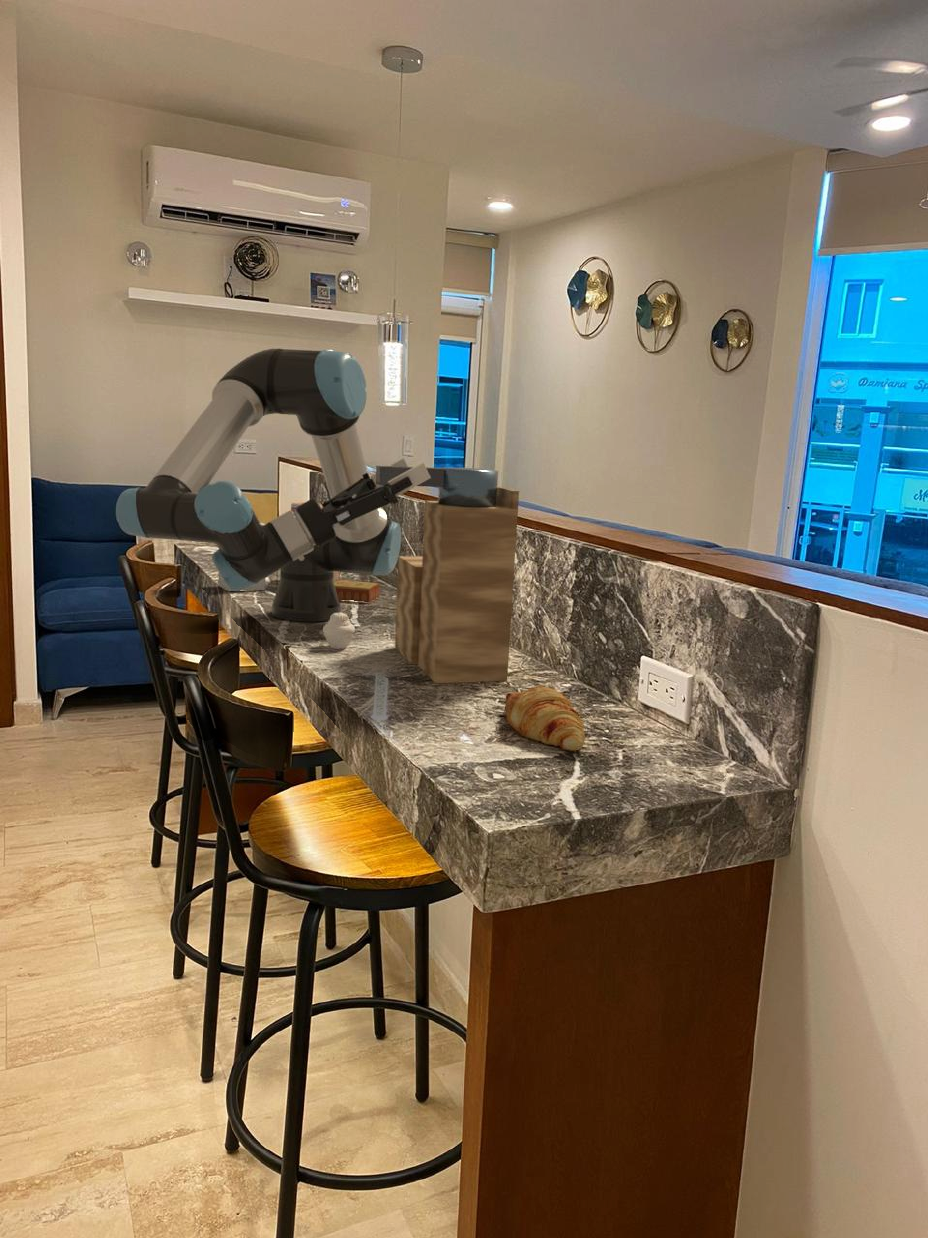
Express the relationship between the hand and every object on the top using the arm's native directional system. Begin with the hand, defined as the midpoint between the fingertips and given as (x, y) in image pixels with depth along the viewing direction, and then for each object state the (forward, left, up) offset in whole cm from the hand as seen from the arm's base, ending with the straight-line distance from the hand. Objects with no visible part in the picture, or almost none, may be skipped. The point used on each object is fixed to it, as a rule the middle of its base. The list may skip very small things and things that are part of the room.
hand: (416, 467), depth 157 cm
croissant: (+33, +12, -36) cm, 51 cm away
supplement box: (-84, -22, -36) cm, 94 cm away
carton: (-71, +1, -37) cm, 80 cm away
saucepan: (0, +4, -6) cm, 7 cm away
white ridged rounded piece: (-21, -9, -36) cm, 43 cm away
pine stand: (-6, +9, -36) cm, 38 cm away
